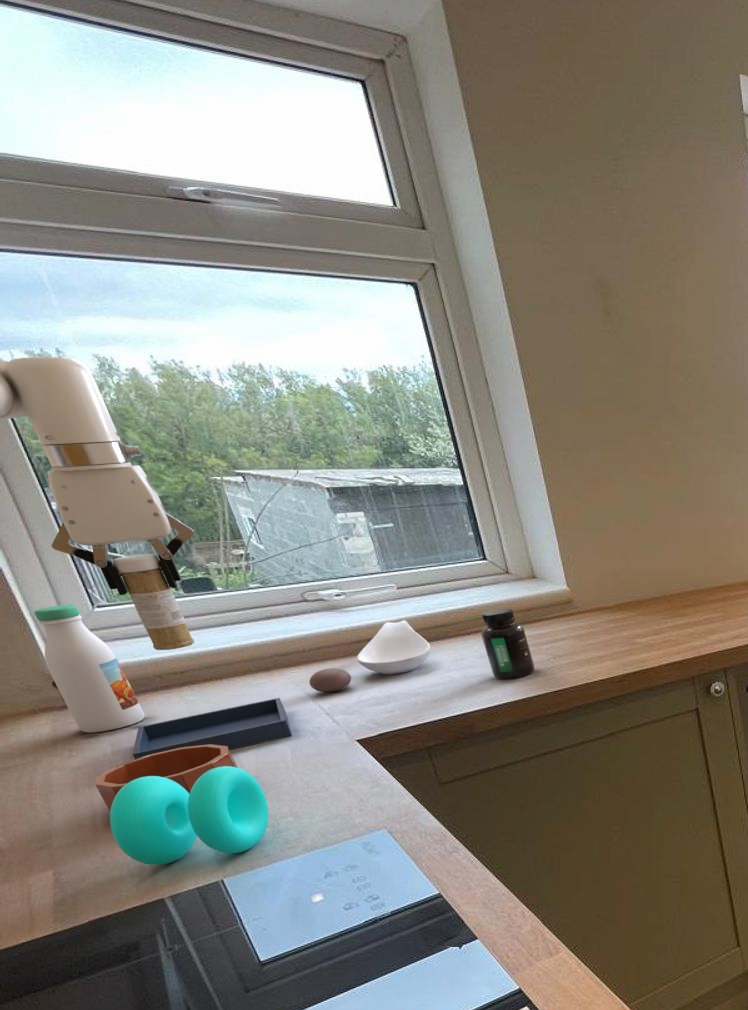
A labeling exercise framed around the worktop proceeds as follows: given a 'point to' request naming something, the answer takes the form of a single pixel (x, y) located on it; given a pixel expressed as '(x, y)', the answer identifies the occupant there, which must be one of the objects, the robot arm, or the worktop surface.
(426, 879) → the worktop surface
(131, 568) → the sprinkles bottle
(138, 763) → the bowl
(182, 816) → the donuts
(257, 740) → the tray
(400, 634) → the spoon rest
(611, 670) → the worktop surface
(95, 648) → the milk bottle
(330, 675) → the egg
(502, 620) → the supplement bottle
